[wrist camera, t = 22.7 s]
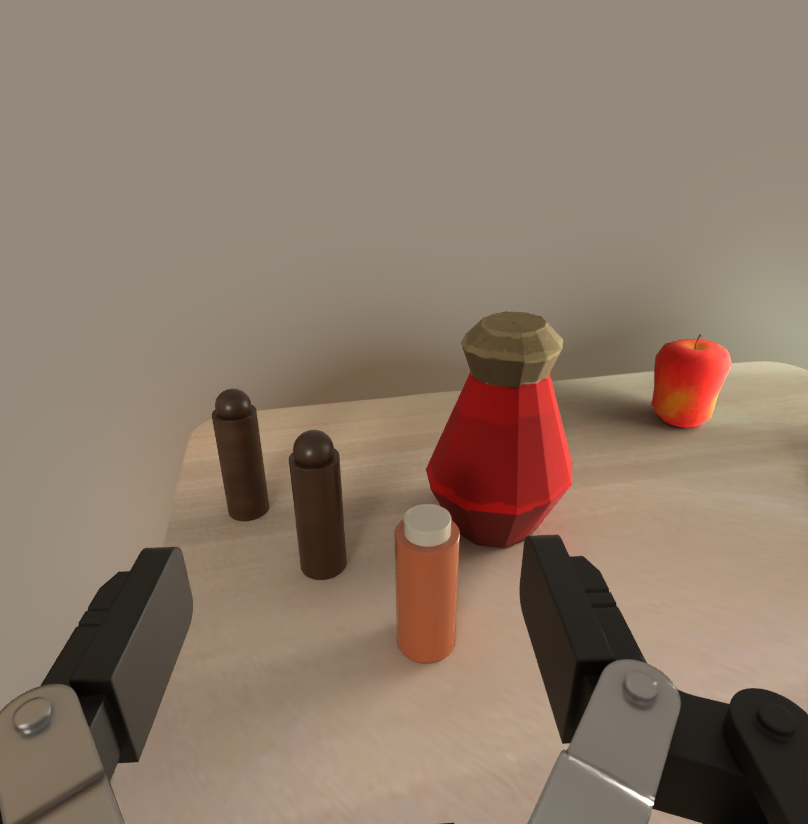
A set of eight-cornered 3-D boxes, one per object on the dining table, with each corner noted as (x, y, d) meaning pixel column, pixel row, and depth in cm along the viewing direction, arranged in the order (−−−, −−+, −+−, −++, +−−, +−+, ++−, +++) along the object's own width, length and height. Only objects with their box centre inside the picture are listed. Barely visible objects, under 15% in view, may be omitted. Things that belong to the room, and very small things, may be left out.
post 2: (320, 586, 48) (307, 450, 42) (291, 564, 51) (275, 432, 45) (355, 563, 51) (348, 431, 45) (327, 543, 53) (316, 416, 47)
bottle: (464, 463, 66) (472, 291, 57) (583, 495, 60) (612, 308, 51) (397, 541, 53) (393, 336, 44) (538, 591, 47) (567, 365, 39)
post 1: (242, 526, 56) (222, 403, 50) (221, 509, 58) (199, 390, 52) (276, 508, 58) (261, 389, 52) (255, 493, 61) (238, 378, 55)
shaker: (428, 674, 40) (430, 547, 35) (384, 640, 43) (380, 518, 38) (467, 638, 43) (474, 516, 38) (423, 608, 46) (425, 491, 41)
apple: (687, 403, 80) (706, 321, 75) (730, 430, 72) (755, 342, 67) (632, 409, 78) (647, 325, 73) (669, 438, 71) (690, 347, 66)
